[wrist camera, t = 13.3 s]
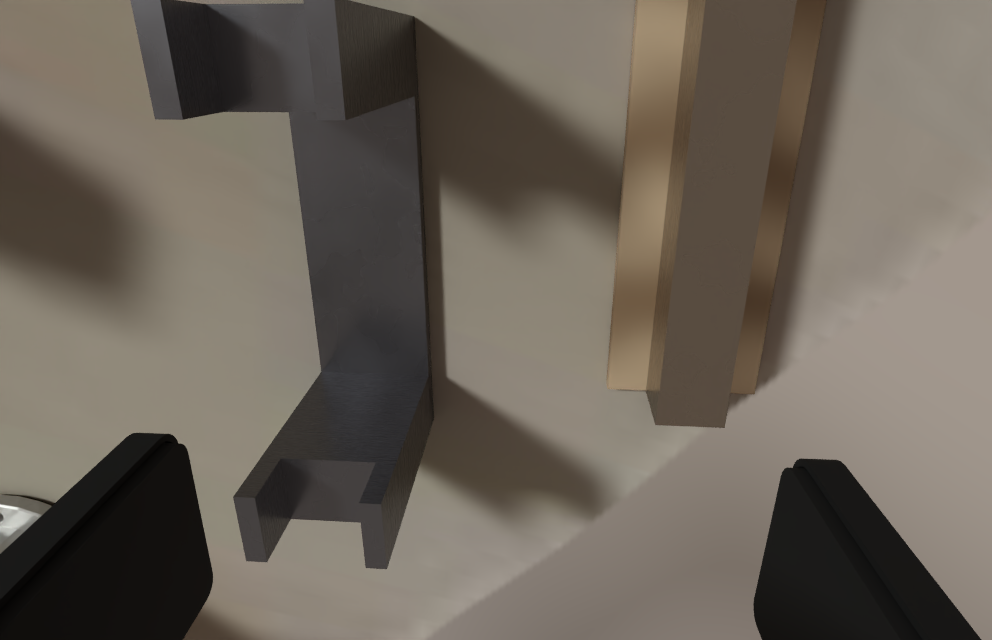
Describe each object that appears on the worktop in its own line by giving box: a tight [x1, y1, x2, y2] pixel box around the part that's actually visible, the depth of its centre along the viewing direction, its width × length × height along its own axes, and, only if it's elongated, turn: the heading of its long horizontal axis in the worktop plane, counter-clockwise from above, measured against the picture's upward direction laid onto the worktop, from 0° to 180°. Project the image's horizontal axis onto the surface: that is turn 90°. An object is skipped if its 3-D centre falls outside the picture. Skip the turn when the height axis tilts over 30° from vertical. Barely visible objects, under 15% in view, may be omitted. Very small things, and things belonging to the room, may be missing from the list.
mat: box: [607, 0, 827, 394], centre depth 26 cm, size 22×7×1 cm, turn 0°
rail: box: [646, 0, 797, 428], centre depth 25 cm, size 22×3×3 cm, turn 0°
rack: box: [131, 0, 434, 569], centre depth 25 cm, size 19×5×10 cm, turn 0°
